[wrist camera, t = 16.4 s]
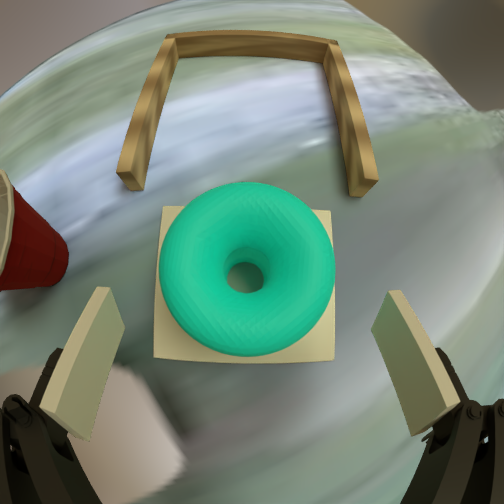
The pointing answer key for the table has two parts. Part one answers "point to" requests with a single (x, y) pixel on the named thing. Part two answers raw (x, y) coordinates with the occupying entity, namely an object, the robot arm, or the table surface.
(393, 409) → the table surface
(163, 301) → the beige mat
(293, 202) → the donuts
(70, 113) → the table surface
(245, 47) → the wooden u-shaped frame
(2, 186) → the plastic cup
